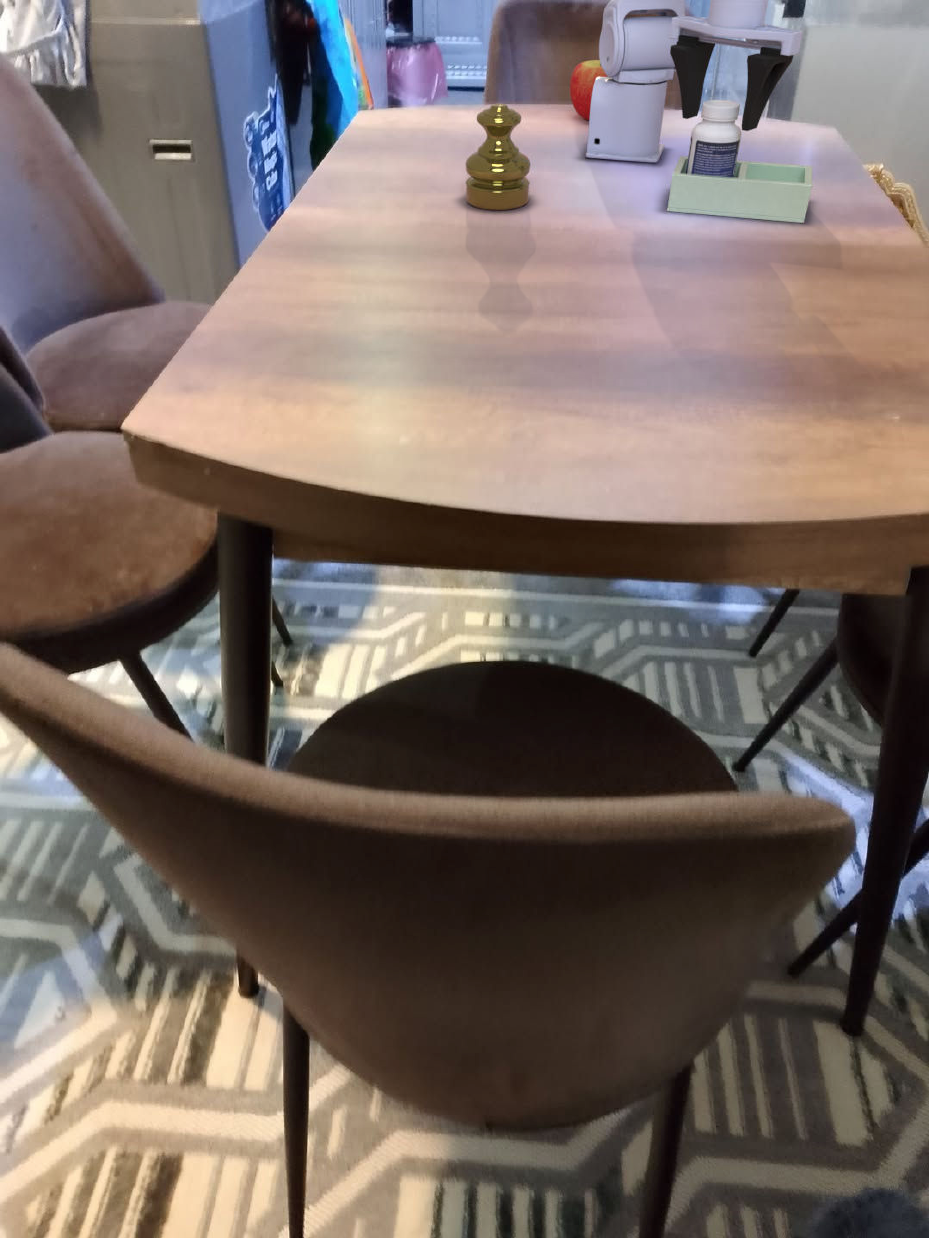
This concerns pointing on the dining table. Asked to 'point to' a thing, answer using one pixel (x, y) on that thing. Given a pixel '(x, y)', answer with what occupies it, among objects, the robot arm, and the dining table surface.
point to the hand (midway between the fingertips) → (718, 123)
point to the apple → (584, 85)
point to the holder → (744, 191)
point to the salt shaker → (498, 164)
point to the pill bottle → (715, 140)
